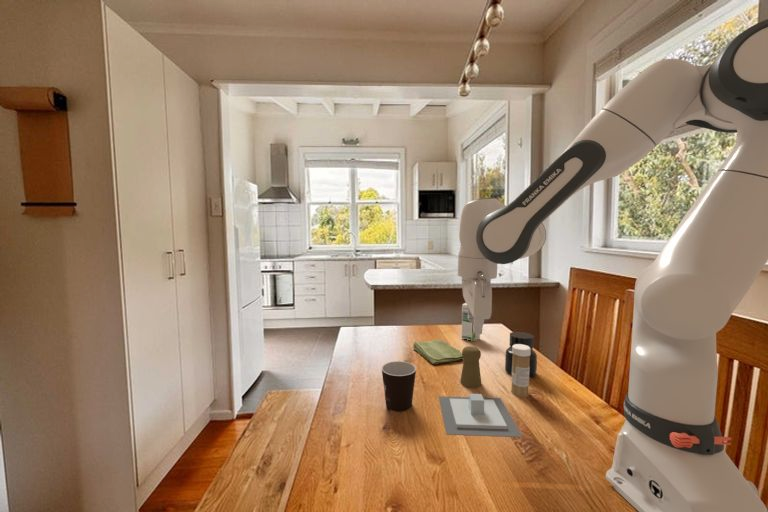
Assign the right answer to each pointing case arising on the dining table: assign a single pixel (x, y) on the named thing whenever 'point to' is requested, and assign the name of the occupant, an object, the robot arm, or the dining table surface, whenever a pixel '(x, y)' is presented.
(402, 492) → the dining table surface
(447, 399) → the mat
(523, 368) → the sprinkles bottle
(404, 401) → the coffee mug
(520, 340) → the ink bottle
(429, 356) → the washcloth
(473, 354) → the cork
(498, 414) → the lid
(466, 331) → the syrup box
